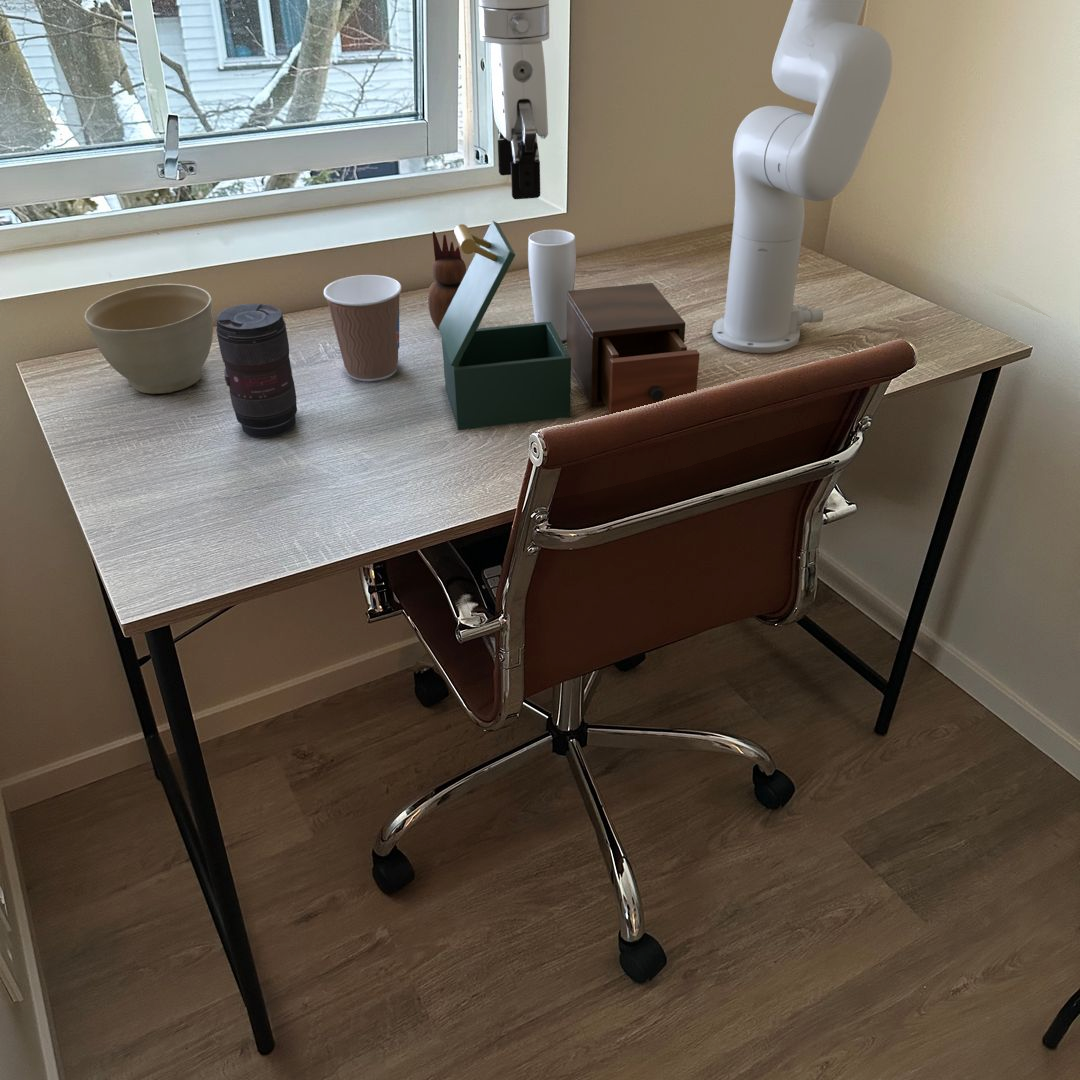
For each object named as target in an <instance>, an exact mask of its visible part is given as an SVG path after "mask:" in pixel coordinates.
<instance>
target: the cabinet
mask: <svg viewBox="0 0 1080 1080" xmlns="http://www.w3.org/2000/svg"><path fill="white" fill-rule="evenodd" d="M664 330H674V331H675V332H676V334H677V335H678V336H679V337H680V339H681V340H682V341H683V343H684V344H685V336H686V322H685V320H684V319H683V318H682V317H681V316H680V314H679V313H678V312H677V311H676V309H675V308H674V307H673V305H672V304H671V303H670V302H669V301H668V300H667V299H666V297H665V296H664V295H663V294H662V293H661V291H660V290H659V289H658V288H657V287H656V285H655V284H654V283H653V282H645V283H644V282H643V283H635V284H634V283H633V284H625V285H613V286H604V287H593V288H582V289H574V290H571V291H567V340H566V350H567V352H568V353H569V355H570V357H571V375H572V376H573V377H574V379H575V381H576V383H577V384H578V386H579V389H580V390H581V392H582V394H583V395H584V398H585V399H586V401H587V403H588V405H589V406H590V408H591V409H596V408H604V407H605V408H606V406H605V404H604V402H603V401H602V399H601V397H600V395H599V394H598V392H597V391H598V341H599V338H598V337H606V336H616V335H625V334H635V333H645V332H654V331H664Z"/></svg>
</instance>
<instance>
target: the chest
mask: <svg viewBox="0 0 1080 1080" xmlns="http://www.w3.org/2000/svg"><path fill="white" fill-rule="evenodd" d="M441 347H442V361H443V374H444V387H445V392H446V396H447V399H448V402H449V406H450V409H451V411H452V415H453V418H454V422H455V425H456V429H457V431H463V430H472V429H481V428H488V427H489V428H490V427H498V426H505V425H513V424H514V425H515V424H523V423H531V422H540V421H541V422H542V421H549V420H557V419H558V420H559V419H566V418H571V417H572V372H571V357H570V355H569V353H568V352H567V347H566V346H565V344H564V343H563V341H561V339H560V337H559V336H558V334H557V332H556V330H555V329H554V327H553V325H552V323H551V322H540V323H534V322H530V323H521V324H511V325H510V324H509V325H500V326H492V327H491V326H490V327H480V328H477V329H476V331H475V333H474V335H473V337H472V339H471V341H470V343H469V345H468V347H467V349H466V350H465V352H464V354H463V356H462V358H461V360H460V362H459V364H458V366H457V367H454V366H451V364H450V361H449V358H448V355H447V352H446V349H445V346H444V343H443V340H442V339H441Z"/></svg>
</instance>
